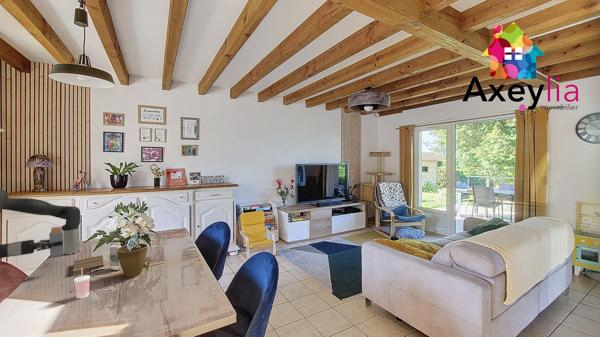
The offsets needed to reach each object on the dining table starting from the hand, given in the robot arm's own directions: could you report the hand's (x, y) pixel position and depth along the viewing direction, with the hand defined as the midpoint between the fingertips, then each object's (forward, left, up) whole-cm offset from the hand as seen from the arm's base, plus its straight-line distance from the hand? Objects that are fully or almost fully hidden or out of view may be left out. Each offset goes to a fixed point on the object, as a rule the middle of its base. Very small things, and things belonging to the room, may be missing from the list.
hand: (62, 241), depth 153 cm
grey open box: (0, -3, -7) cm, 7 cm away
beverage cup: (+42, +9, -18) cm, 47 cm away
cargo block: (0, -3, +5) cm, 6 cm away
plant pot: (+30, +31, -18) cm, 47 cm away
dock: (0, +11, -18) cm, 21 cm away
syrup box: (+14, +25, -19) cm, 34 cm away
